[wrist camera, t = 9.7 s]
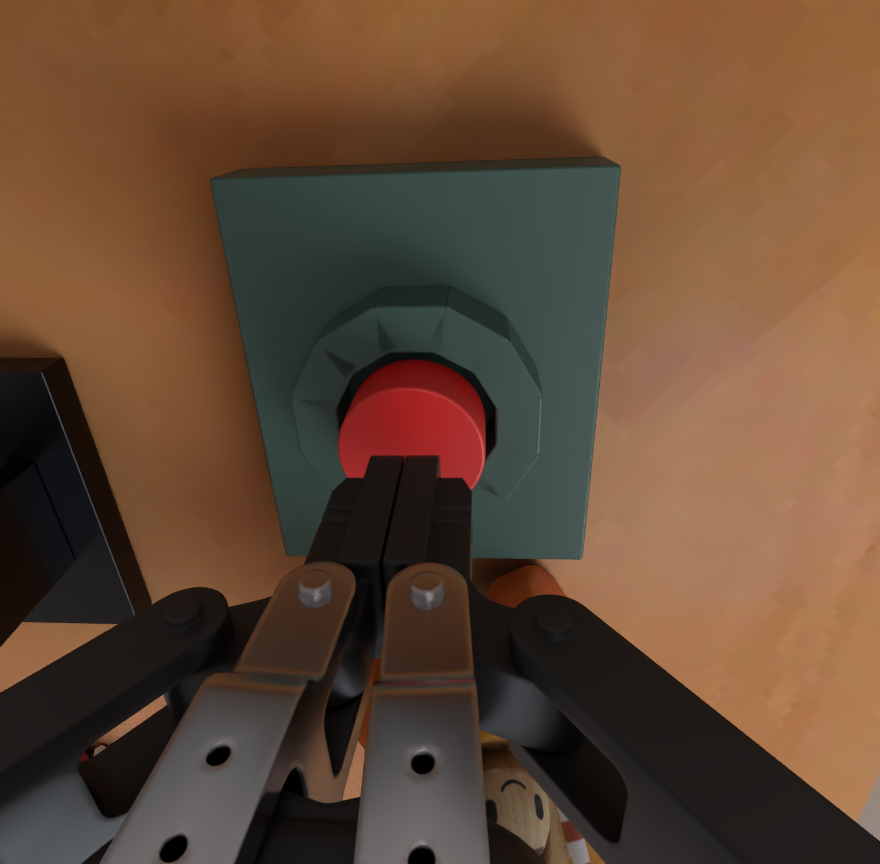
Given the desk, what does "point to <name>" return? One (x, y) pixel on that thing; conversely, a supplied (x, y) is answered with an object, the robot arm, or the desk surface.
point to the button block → (429, 321)
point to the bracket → (57, 509)
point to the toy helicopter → (505, 779)
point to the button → (415, 420)
